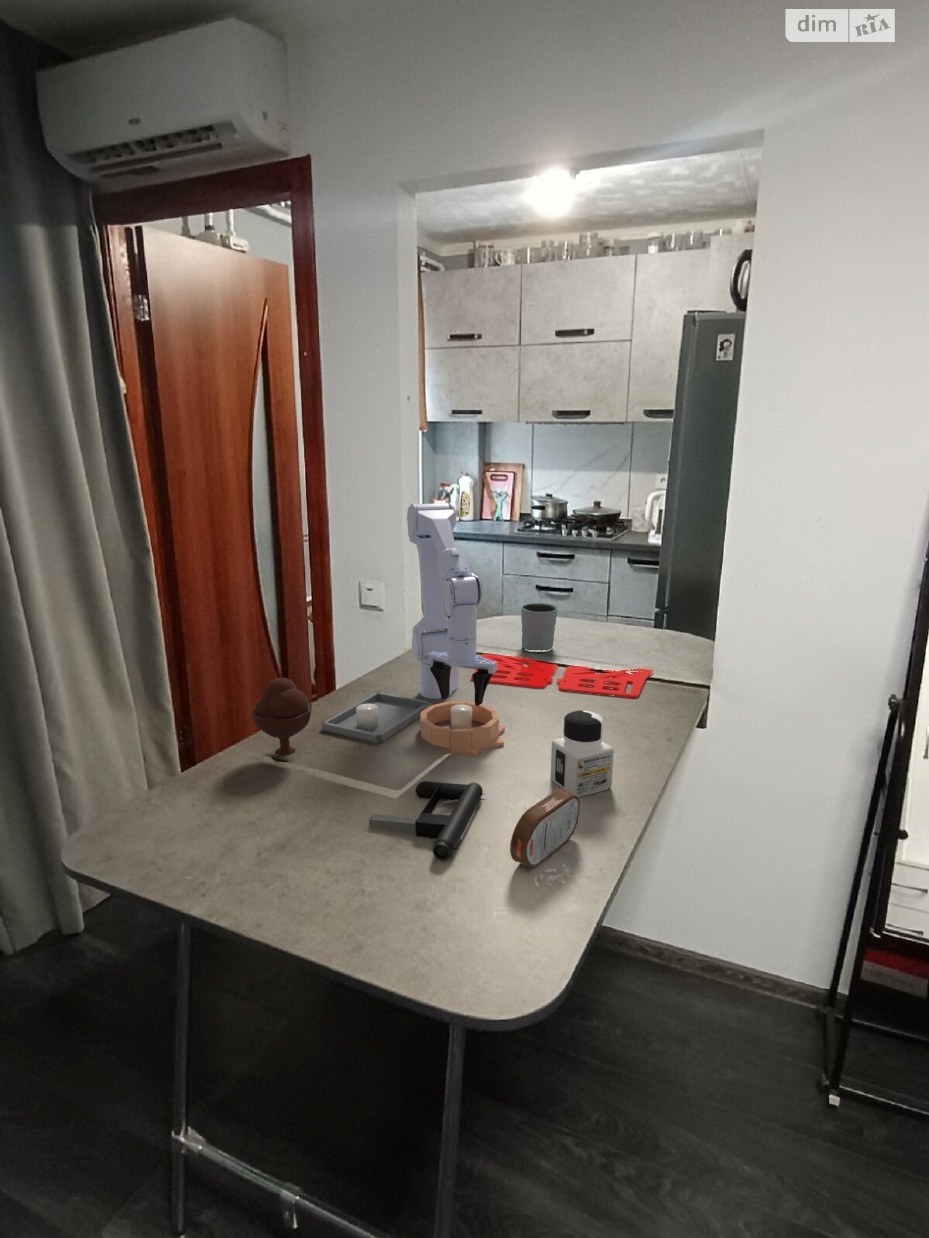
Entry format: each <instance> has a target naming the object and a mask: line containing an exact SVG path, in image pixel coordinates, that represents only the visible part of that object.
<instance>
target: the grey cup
mask: <svg viewBox="0 0 929 1238" xmlns="http://www.w3.org/2000/svg"><path fill="white" fill-rule="evenodd" d="M558 609H559V608H558V607H557V606H555V605H553V604H550V603H542V602H531V603H530V602H529V603H526V604H525V603H524V604H522V605H521V607H520V611H521V612H520V613H521V614H520V615H521V648H522V647H523V648H524V649H527V650H541V651H542V650H549V649H551V648H552V647H553V648H554V641H555V639H554V637H555V631H556V630H555V628H556V625H557V616H558ZM523 648H522V649H523ZM553 648H552V649H553Z"/></svg>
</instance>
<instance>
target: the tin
mask: <svg viewBox="0 0 929 1238" xmlns="http://www.w3.org/2000/svg"><path fill="white" fill-rule="evenodd" d="M580 806H581V800H580V797H579V798H578V797H577V796H576V795H574V794H572V793H570V792H568V791H566V790H565V789H563V788H557V789H556V790H554V791H552V792H551V793H550V794H549V795H547V796H545V798H544V797H543V798H542V799H541V800H540V801H538V802H536V803H535V804H533V805H532V806H530V807H529V808H528V809H526V810H525V812H524V813H523V814H522V815H521V817H520V818H519V820H518V821H517V823H516V825H515V828H513V829H514V830H513V833H512V835H511V839H510V844H509V854H510V857H511V858H512V860H513V862H514V861H515V862H516V863H519V864H521V865H523V866H525V867H527V868H535V867H538V866H539V865H540V864H541V863H543V862H544V861H545V860H546V859H547V858H549V857H550V856H551V855H553V854H554V853H556V852H557V851H558V850H560V848H562V847H563V846H564V845H565V844H567V842H568V841H569V840H570V839H571V837H572V836H573V834H574V832H575V830H576V829H577V826H578V822H579V814H580Z"/></svg>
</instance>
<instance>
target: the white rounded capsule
mask: <svg viewBox="0 0 929 1238" xmlns="http://www.w3.org/2000/svg"><path fill="white" fill-rule="evenodd" d="M356 716H357V728H358V729H361V730H373V729H375V728H377V727H378V726H379V723H378V706H377V705H375V704H361V705H359V706H357V707H356Z"/></svg>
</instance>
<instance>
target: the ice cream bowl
mask: <svg viewBox="0 0 929 1238" xmlns="http://www.w3.org/2000/svg"><path fill="white" fill-rule="evenodd" d="M312 707H313V704H312V703H310V702H309V698H308V697H307V695H306V694H305V693H304V692H303V691H302V690H300V689H298V688H297V685H296V684H295V683H294V682H293V681H292V680H291V679H289V678H287V677H277V678H275V679H272V680H270V681H269V683H267V684H266V687H265V689H264V692H263V696H261V697H260V698H259V699H258V701H257V702H256V704H255V706H254V707H253V710H252V713H251V716H252V719H253V720H252V721H253V722H254V725H256V727H257V729H259V730H261V731H262V732H263V733H265V734H266V735H268V736H270V737H272V738H274V739H275V738H276V739H277V738H278V739H279V748H277V749H275V750H274V754H275V755H276V756H281V757H285V756H291V755H293V754H295V753H296V752H297V748H295V747H293V746H290V738H291V737H293V736H296V735H297V734H298V733H300V732H302V731H303V730H304V729H305V728H306V727H307V725H308V724H309V722H310V720H311V714H312V709H313V708H312ZM271 758H272V759H273V760H275V761H276V762H275V761H274V762H275V763H289V762H288V761H289V760H285V759H282V758H277V757H273V756H271V757H270V759H271ZM272 759H271V760H272ZM273 760H272V761H273Z"/></svg>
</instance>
